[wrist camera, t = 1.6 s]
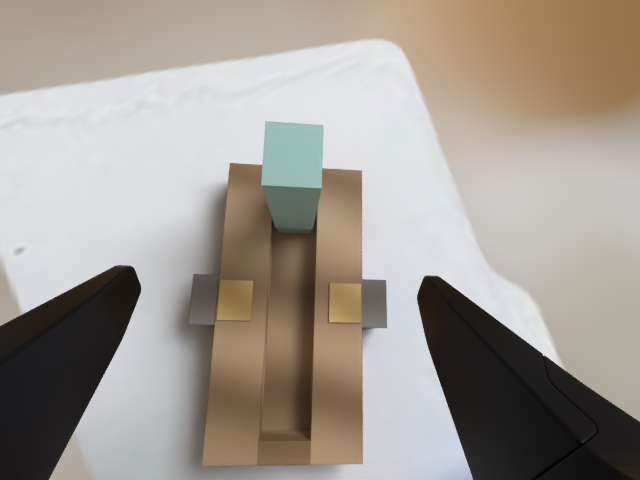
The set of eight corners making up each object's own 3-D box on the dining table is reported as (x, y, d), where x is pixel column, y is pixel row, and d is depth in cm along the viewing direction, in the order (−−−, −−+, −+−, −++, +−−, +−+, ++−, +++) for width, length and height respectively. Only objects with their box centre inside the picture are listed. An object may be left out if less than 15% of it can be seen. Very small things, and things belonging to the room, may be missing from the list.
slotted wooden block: (378, 441, 19) (390, 464, 16) (188, 443, 18) (170, 467, 16) (374, 185, 22) (384, 171, 20) (216, 176, 22) (205, 161, 19)
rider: (311, 234, 20) (321, 188, 11) (276, 232, 20) (261, 185, 11) (312, 196, 21) (323, 125, 12) (279, 194, 20) (265, 121, 12)
